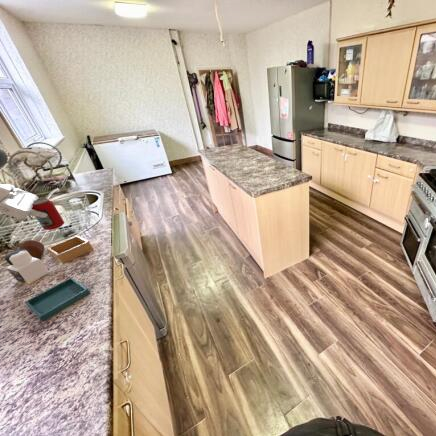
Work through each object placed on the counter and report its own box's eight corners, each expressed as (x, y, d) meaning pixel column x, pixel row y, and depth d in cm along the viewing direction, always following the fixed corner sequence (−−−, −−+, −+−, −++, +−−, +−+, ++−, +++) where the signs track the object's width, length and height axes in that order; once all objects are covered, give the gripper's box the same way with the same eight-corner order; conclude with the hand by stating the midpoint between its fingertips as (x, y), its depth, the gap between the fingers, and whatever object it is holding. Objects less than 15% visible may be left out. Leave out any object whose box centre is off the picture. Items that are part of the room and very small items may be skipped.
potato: (25, 265, 100) (13, 250, 96) (24, 254, 107) (13, 240, 103) (49, 257, 105) (38, 242, 101) (47, 247, 112) (37, 233, 108)
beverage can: (40, 230, 96) (22, 204, 91) (58, 222, 102) (42, 197, 96) (51, 232, 95) (34, 205, 89) (69, 223, 100) (54, 198, 95)
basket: (62, 263, 100) (57, 255, 98) (52, 256, 105) (46, 248, 103) (93, 249, 108) (88, 241, 106) (82, 242, 114) (77, 235, 111)
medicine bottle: (17, 281, 91) (-4, 257, 86) (39, 269, 97) (21, 246, 91) (28, 285, 89) (8, 260, 83) (50, 272, 95) (32, 249, 89)
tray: (42, 321, 74) (39, 317, 73) (27, 306, 80) (24, 301, 79) (90, 293, 84) (87, 288, 83) (74, 281, 90) (71, 276, 89)
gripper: (-7, 198, 78) (48, 214, 88) (10, 183, 93) (55, 198, 103) (-17, 214, 78) (39, 228, 88) (1, 196, 93) (47, 210, 103)
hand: (48, 212), depth 95 cm, fingers closed on beverage can, 7 cm apart
